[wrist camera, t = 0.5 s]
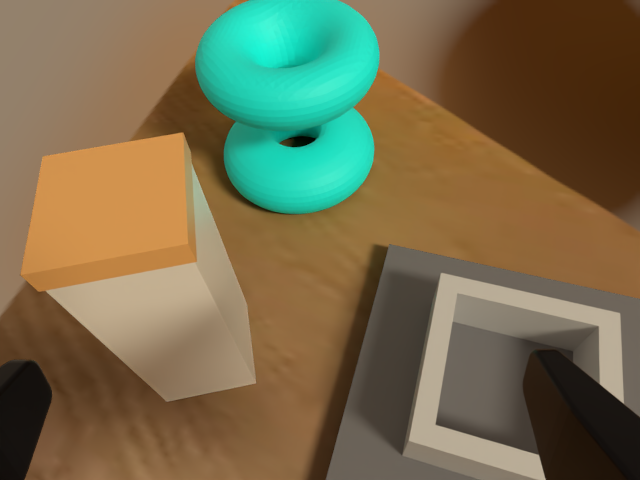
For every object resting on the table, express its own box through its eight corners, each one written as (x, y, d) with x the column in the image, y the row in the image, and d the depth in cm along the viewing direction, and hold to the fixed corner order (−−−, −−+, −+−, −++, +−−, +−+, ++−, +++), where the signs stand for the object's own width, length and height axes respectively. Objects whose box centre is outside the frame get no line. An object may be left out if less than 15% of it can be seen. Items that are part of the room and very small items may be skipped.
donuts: (311, -36, 29) (421, 41, 24) (320, 98, 37) (403, 176, 32) (158, 24, 26) (247, 125, 21) (204, 154, 34) (276, 249, 29)
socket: (667, 628, 19) (735, 641, 15) (319, 508, 21) (314, 498, 18) (644, 310, 26) (687, 272, 23) (388, 253, 29) (393, 212, 26)
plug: (258, 384, 25) (188, 244, 14) (165, 404, 24) (20, 275, 14) (248, 302, 27) (183, 132, 17) (164, 319, 27) (42, 156, 16)
